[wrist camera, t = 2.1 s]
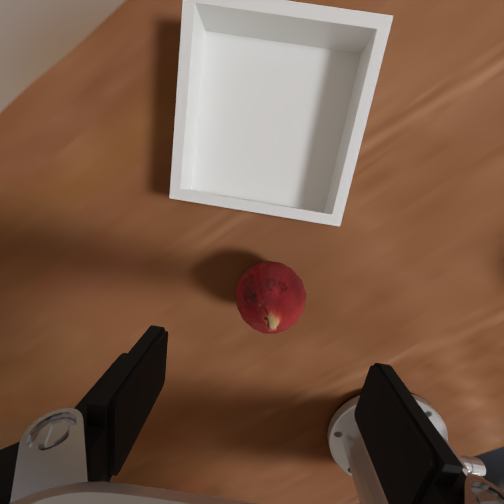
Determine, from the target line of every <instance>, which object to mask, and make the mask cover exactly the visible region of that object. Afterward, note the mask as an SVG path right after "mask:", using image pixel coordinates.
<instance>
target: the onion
mask: <svg viewBox="0 0 504 504" xmlns="http://www.w3.org/2000/svg"><path fill="white" fill-rule="evenodd" d="M305 299H306V293H305V289H304V286H303V283H302V281H301V279H300V278H299V277H298V276H297V274H296V273H295V272H294V271H293V270H292V269H291V268H289V267H287V266H285V265H284V264H282V263H278V262H270V261H267V262H262V263H258V264H254V265H253V266H252V267H251V268H250V269H248V270H247V271H246V272H245V273H244V274H243V275H242V277H241V279H240V281H239V284H238V286H237V289H236V301H237V307H238V310H239V312H240V314H241V316H242V318H243V320H244V321H245V322H246V323H247V324H249V325H250V326H251V327H252V328H253V329H255V330H257V331H260V332H262V333H267V334H276V333H279V332H282V331H285V330H287V329H288V328H290V327H291V326H292V325H294V324H295V323H296V322H297V321H298V319H299V317H300V316H301V314H302V312H303V311H304V308H305Z"/></svg>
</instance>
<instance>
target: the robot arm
mask: <svg viewBox="0 0 504 504" xmlns="http://www.w3.org/2000/svg"><path fill="white" fill-rule="evenodd" d="M167 342H168V332H167V331H165V329H164V327H158V326H150V327H149V328H148V330H147V331H146V332H145V333H144V334H143V336H142V337H141V338H140V339H139V340H138V342H137V343H136V344H135V345H134V347H133V348H132V349H131V350H130V351H129V353H128V354H127V353H123V354H121V355H120V356H119V357H118V358H117V359H116V361H115V362H114V363H113V364H112V365H111V366H110V368H109V369H108V370H107V371H106V372H105V373H104V374H103V376H102V377H101V378H100V379H99V380H98V381H97V383H96V384H95V385H94V386H93V387H92V388H91V390H90V391H89V392H88V393H87V394H86V395H85V396H84V398H83V399H82V400H81V401H80V402H79V403H78V405H77V406H76V407H75V408H74V409H73V408H62V409H58V410H54V411H52V412H50V413H47V414H45V415H43V416H42V417H40V418H39V419H37V420H36V421H35V422H34V423H33V424H31V425H30V426H29V427H28V428H27V430H26V431H25V432H24V434H23V435H22V437H21V440H20V442H18V443H16V444H13V445H11V446H9V447H7V448H4V449H2V450H0V504H256V503H250V502H244V501H238V500H232V499H226V498H220V497H214V496H207V495H201V494H195V493H189V492H183V491H177V490H170V489H163V488H156V487H149V486H142V485H135V484H128V483H116V482H109V481H110V479H111V477H112V475H115V476H116V475H117V474H118V473H119V472H120V470H121V468H122V466H123V464H124V462H125V460H126V458H127V456H128V454H129V452H130V450H131V448H132V446H133V444H134V442H135V440H136V438H137V436H138V434H139V433H140V431H141V429H142V427H143V425H144V423H145V421H146V419H147V417H148V415H149V413H150V411H151V409H152V407H153V405H154V403H155V401H156V399H157V397H158V395H159V393H160V391H161V389H162V387H163V385H164V381H165V371H166V356H167ZM327 437H328V444H329V447H330V451H331V455H332V457H333V458H334V460H335V462H336V463H337V464H338V466H339V467H340V468H341V469H342V470H343V471H345V472H346V473H347V474H349V475H351V476H352V477H353V481H354V484H355V487H356V491H357V494H358V497H359V501H360V504H504V492H503V491H502V490H500V489H499V488H498V487H496V486H495V485H494V484H492V483H490V482H488V481H487V480H485V479H484V478H483V477H482V476H484V475H485V474H486V469H485V466H484V464H483V462H482V461H481V460H480V459H478V458H474V457H469V456H460V455H458V454H457V453H456V452H455V450H454V449H453V448H452V446H451V445H450V444H449V442H448V433H447V429H446V425H445V423H444V422H443V420H442V418H441V417H440V415H439V414H438V413H437V412H436V410H435V409H434V408H433V407H432V406H431V405H430V404H429V403H428V402H427V401H425V400H424V399H422V398H420V397H418V396H417V395H414V394H411V393H410V392H409V390H408V389H407V387H406V386H405V385H404V383H403V382H402V381H401V379H400V378H399V376H398V375H397V374H396V372H395V371H394V369H393V368H392V367H391V366H390V365H386V364H380V363H375V364H374V366H371V367H370V369H369V371H368V374H367V377H366V380H365V383H364V386H363V388H362V391H361V394H360V395H359V396H356V397H354V398H352V399H351V400H349V401H348V402H346V403H345V404H343V405H342V406H341V407H340V408H339V409H338V410H337V411H336V413H335V414H334V416H333V417H332V419H331V421H330V424H329V427H328V434H327Z"/></svg>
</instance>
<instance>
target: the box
mask: <svg viewBox="0 0 504 504" xmlns="http://www.w3.org/2000/svg"><path fill="white" fill-rule="evenodd" d="M392 20H393V16H391V15H384V14H377V13H370V12H363V11H356V10H349V9H342V8H335V7H328V6H321V5H314V4H308V3H301V2H294V1H287V0H183V6H182V21H181V35H180V50H179V65H178V79H177V94H176V109H175V123H174V138H173V153H172V167H171V182H170V196H169V198H171V199H177V200H183V201H189V202H195V203H201V204H207V205H214V206H220V207H226V208H232V209H238V210H244V211H250V212H256V213H262V214H268V215H274V216H280V217H286V218H292V219H298V220H304V221H310V222H316V223H322V224H328V225H334V226H340V224H341V220H342V216H343V212H344V208H345V205H346V201H347V197H348V193H349V189H350V185H351V181H352V177H353V173H354V169H355V165H356V161H357V157H358V153H359V149H360V146H361V142H362V138H363V134H364V130H365V126H366V122H367V118H368V114H369V110H370V106H371V102H372V98H373V94H374V90H375V86H376V83H377V79H378V75H379V71H380V67H381V63H382V59H383V55H384V51H385V47H386V43H387V39H388V35H389V31H390V27H391V24H392Z"/></svg>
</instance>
